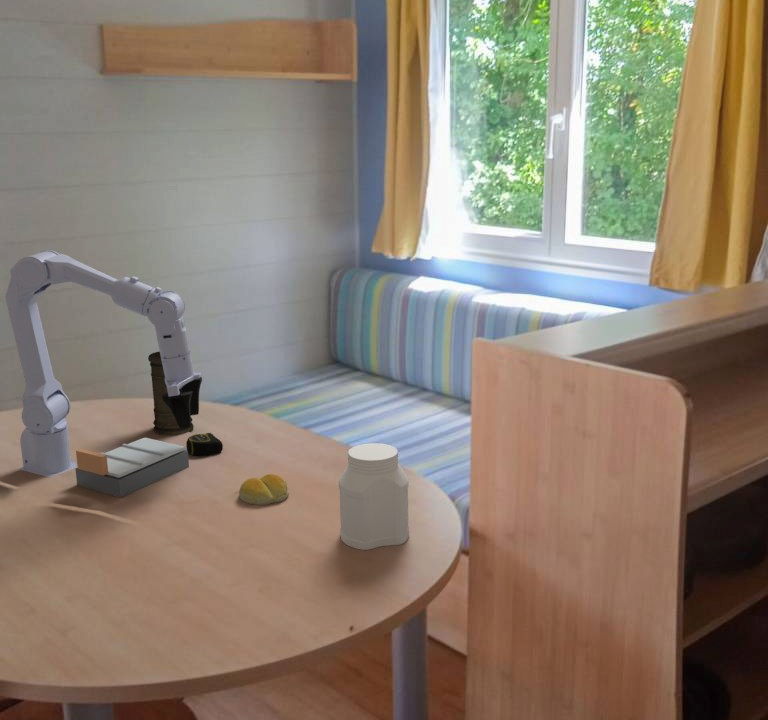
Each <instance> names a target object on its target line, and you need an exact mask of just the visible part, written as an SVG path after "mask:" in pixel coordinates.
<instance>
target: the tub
mask: <svg viewBox="0 0 768 720" xmlns="http://www.w3.org/2000/svg"><path fill="white" fill-rule="evenodd" d="M189 463H190V462H189V453H188V451H187V449H186V450H183V451H181V452H179V453H176V454H174V455H172V456H170V457H168V458H166V459H163V460H161V461H159V462H156V463H154V464H152V465H149V466H147V467H145V468H141V469H139V470H136V471H134V472H132V473H129V474H127V475H125V476H122V477H120V478H118V477H114V476H110V475H107V474H106V475H104V476H103V475H99V474H96V473H92V472H88V471H84V470H81V469H78V467H75V468H74V469H75V477H76V479H75V480H76V485H77V486H79V487H83V488H86V489H90V490H92V491H93V490H94V491H96V492H100V493H102V494H107V495H110V496H114V497H118V498H123V497H125V496H128V495H130V494H132V493H134V492H136V491H138V490H140V489H143V488H145V487H148V486H150V485H153V484H155V483H156V482H159V481H161V480H163V479H166V478H167V477H170V476H173V475H175V474H176V473H179V472H181V471H183V470H185V469H188V468H189V467H190V464H189Z"/></svg>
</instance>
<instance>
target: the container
mask: <svg viewBox="0 0 768 720" xmlns="http://www.w3.org/2000/svg"><path fill="white" fill-rule="evenodd" d="M147 361H149V362H150V363H149V365H150V369H151V370H150V371H151V372H150V376H151V383H152V385H151V386H152V396H153V397H152V398H153V415H154V421H153V422H152V424H153V425H154V427H153V432H154V433H155V434H157V435H160V436H179V435H184V434H188V433H192V432H193V430H194V427H195V426H194V424H193V422H192V421H193V418H192V417H191V426H190V427H184V428H180V427H179V426H178V424H177V422H176V419H175V417H174V415H173V413H172V411H171V410H170V408H169V407H168V405H167V404H166V403H165V402H164V401H163V399H162V395H163V394H165V393H168V391H167V385H166V383H165V374H164V369H163V365H162V360H161V355H160V350H159V351H155V352H152V353H151V354H149V355H148V358H147Z"/></svg>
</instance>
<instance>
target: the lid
mask: <svg viewBox="0 0 768 720" xmlns="http://www.w3.org/2000/svg"><path fill="white" fill-rule="evenodd" d="M183 450H187V448H186V446H184V445H181V444H175V443H171V442H166V441H161V440H157V439H153V438H149V437H143V438H140V439H137V440H135V441H131V442H129V443H122V445H121V446H119V447H116V448H114V449H112V450H109V451H107V452H103V451H102V452H94V451H91V450H87V449H84V448H80V449H79V448H78V449H77V450H75V453H76V454H75V455H76V463H77V464H76V465H77V467H76V468H78V469H81V470H84V471H88V472H92V473H96V474H99V475H103V476H104V475H106V474H107V475H110V476H114V477H118V478H120V477H122V476H125V475H127V474H129V473H132V472H134V471H136V470H139V469H141V468H143V467H146V466H148V465H150V464H153V463H155V462H157V461H160V460H162V459H165V458H167V457H169V456H172V455H174V454H176V453H179V452H181V451H183Z"/></svg>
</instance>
